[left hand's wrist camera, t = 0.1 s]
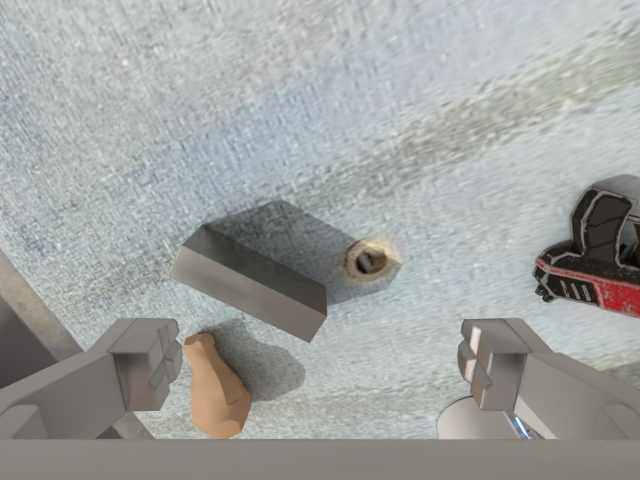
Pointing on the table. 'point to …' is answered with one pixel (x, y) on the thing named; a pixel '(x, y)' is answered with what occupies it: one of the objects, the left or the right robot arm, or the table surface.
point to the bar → (251, 283)
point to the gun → (594, 257)
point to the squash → (215, 390)
